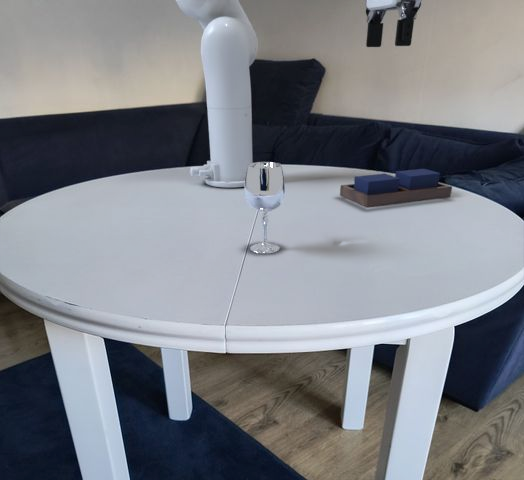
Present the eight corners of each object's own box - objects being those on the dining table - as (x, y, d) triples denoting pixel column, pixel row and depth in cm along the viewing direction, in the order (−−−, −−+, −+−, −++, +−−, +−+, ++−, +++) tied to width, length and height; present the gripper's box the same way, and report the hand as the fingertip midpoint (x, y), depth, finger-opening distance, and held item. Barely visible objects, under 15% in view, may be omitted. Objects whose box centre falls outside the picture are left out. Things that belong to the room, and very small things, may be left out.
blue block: (366, 203, 93) (368, 181, 91) (352, 197, 97) (354, 176, 95) (397, 199, 95) (399, 178, 93) (382, 193, 99) (385, 173, 97)
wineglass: (245, 242, 75) (243, 161, 69) (281, 241, 76) (282, 160, 70) (246, 255, 71) (244, 169, 64) (286, 254, 71) (287, 168, 65)
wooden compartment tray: (449, 199, 97) (452, 186, 95) (366, 210, 91) (367, 196, 89) (418, 189, 105) (420, 176, 103) (339, 198, 99) (340, 185, 97)
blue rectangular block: (407, 197, 95) (410, 176, 93) (393, 191, 99) (395, 171, 97) (436, 193, 98) (440, 173, 96) (421, 188, 102) (424, 168, 100)
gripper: (355, -61, 90) (347, 47, 99) (412, -83, 76) (397, 45, 85) (389, -59, 92) (378, 47, 101) (450, -79, 79) (432, 45, 88)
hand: (387, 46), depth 93 cm, fingers open, 9 cm apart
